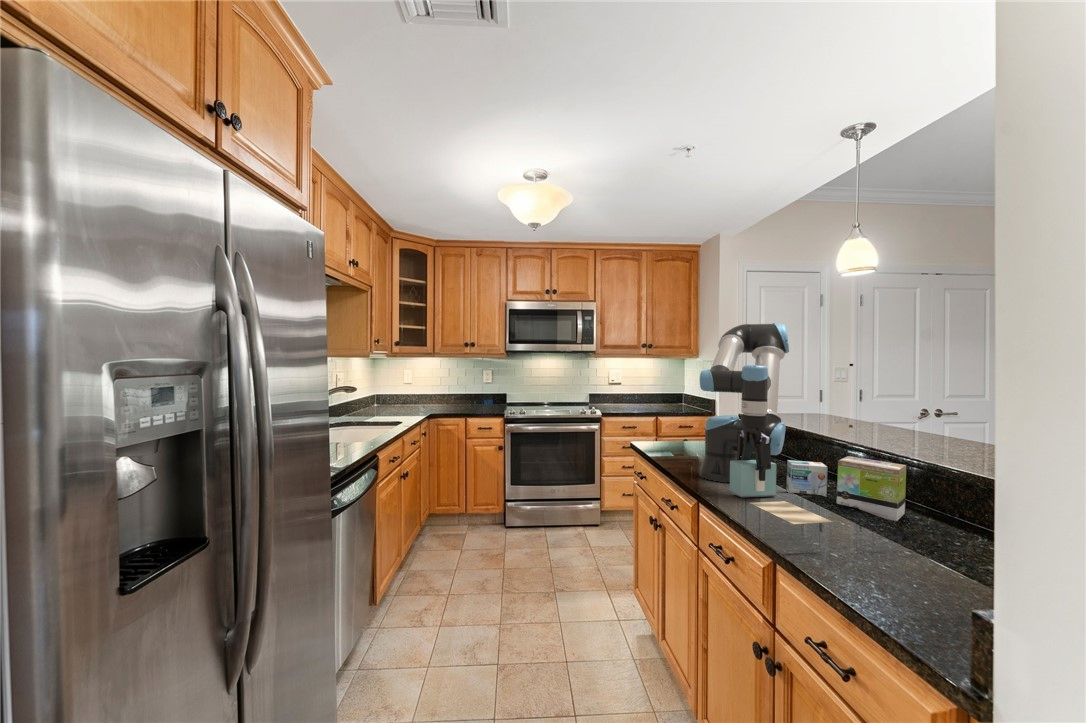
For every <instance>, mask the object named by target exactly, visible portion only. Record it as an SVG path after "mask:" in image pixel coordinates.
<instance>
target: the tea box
mask: <svg viewBox="0 0 1086 723" xmlns="http://www.w3.org/2000/svg"><path fill="white" fill-rule="evenodd" d="M836 482H837V484H836V504H838V505H842V506H844V507H845V506H846V507H850V508H851V507H852V508H856V509H857V510H860V511H863V512H866V513H869V514H871V515H875V516H876V517H879V518H883V519H885V520H888V521H889V520H890V521H892V522H898V521H899V520H900V519H901V518H902V517H903V516H904V515H905V511H906V492H907V490H906V484H907V464H901V463H900V464H899V463H894V462H888V461H882V460H874V459H869V458H862V457H856V456H850V455H849V456H848V455H847V456H845V457H843V458H841V459H839V460H837V481H836Z"/></svg>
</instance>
